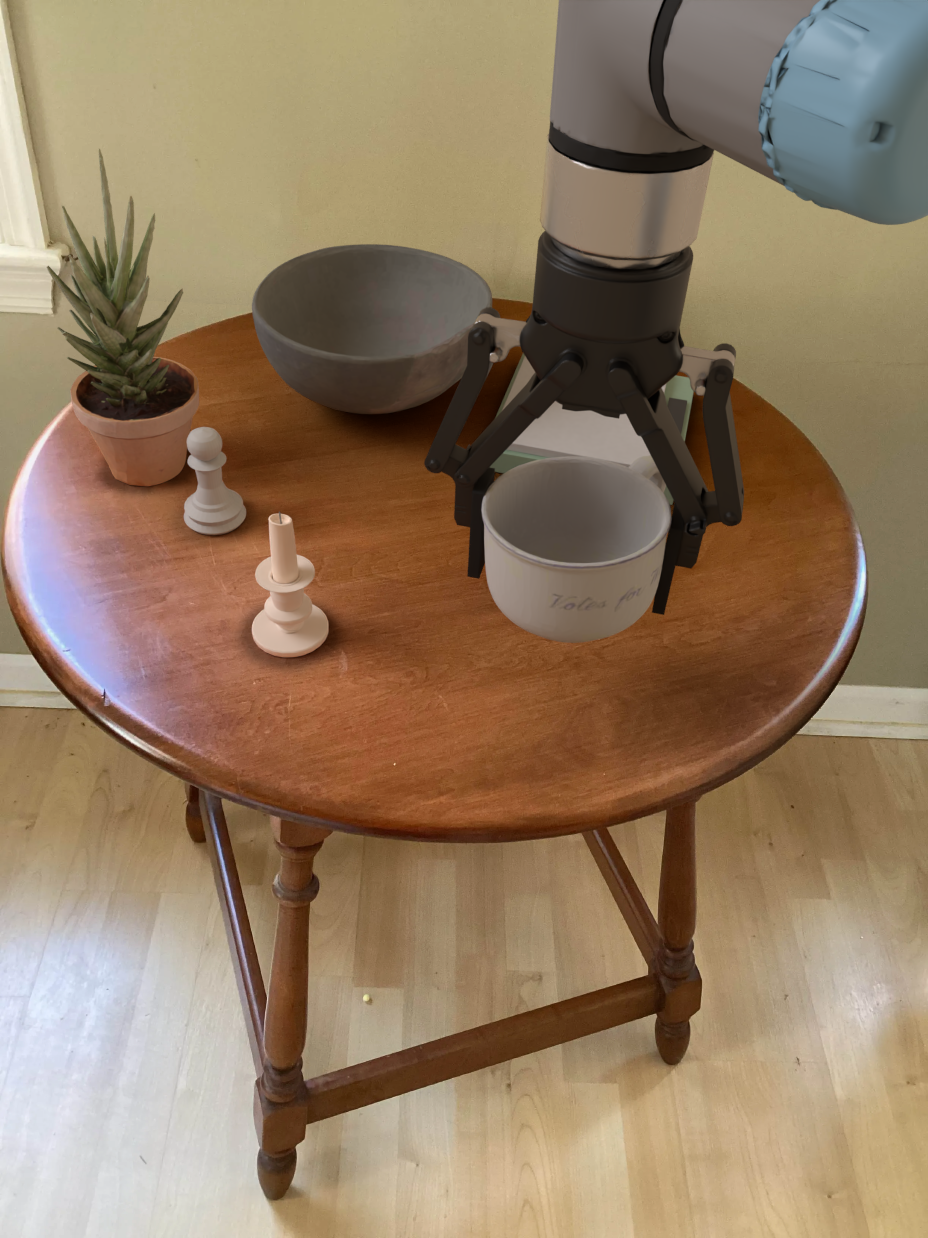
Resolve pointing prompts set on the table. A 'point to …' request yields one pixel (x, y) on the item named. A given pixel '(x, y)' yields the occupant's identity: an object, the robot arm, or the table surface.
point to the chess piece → (211, 487)
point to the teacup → (575, 545)
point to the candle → (287, 597)
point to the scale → (585, 429)
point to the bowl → (369, 325)
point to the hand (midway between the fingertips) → (568, 581)
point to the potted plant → (126, 358)
